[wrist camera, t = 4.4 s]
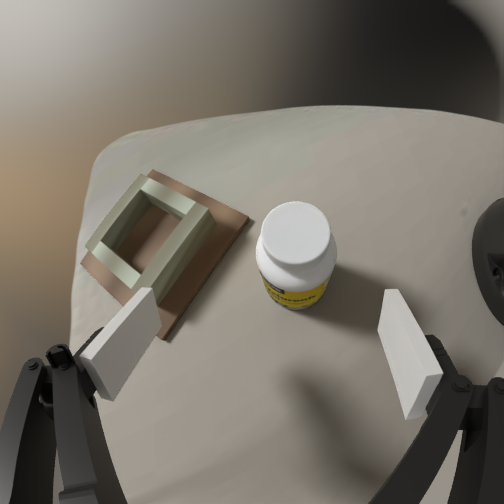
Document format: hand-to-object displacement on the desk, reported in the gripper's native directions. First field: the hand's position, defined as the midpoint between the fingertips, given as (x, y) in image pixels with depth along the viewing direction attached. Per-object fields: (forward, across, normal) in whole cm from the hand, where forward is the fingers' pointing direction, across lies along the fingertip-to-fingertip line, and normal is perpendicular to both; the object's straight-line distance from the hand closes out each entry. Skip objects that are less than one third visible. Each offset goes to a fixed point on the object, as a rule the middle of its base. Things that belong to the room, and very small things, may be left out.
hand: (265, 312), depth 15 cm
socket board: (+12, -12, 0) cm, 17 cm away
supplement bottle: (+10, +2, -3) cm, 10 cm away
